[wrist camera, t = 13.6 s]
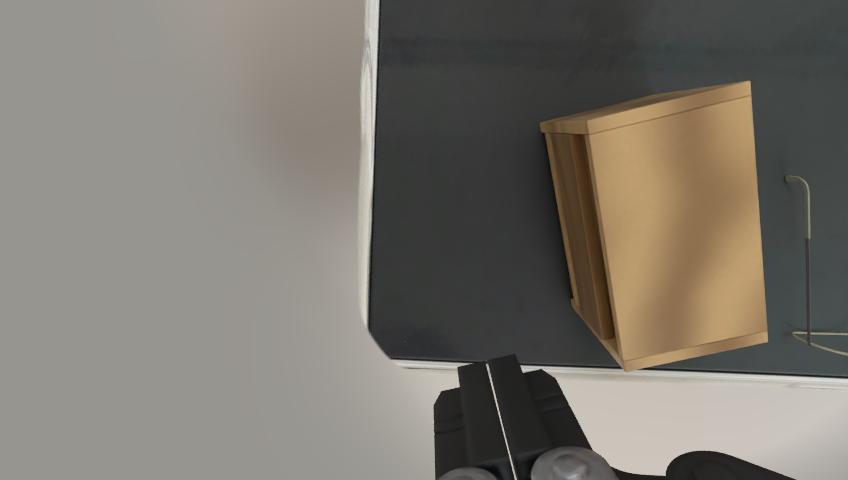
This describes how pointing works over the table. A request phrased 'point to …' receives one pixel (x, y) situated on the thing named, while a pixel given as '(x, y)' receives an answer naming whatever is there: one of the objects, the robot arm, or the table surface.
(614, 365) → the table surface
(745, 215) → the wooden drawer chest
